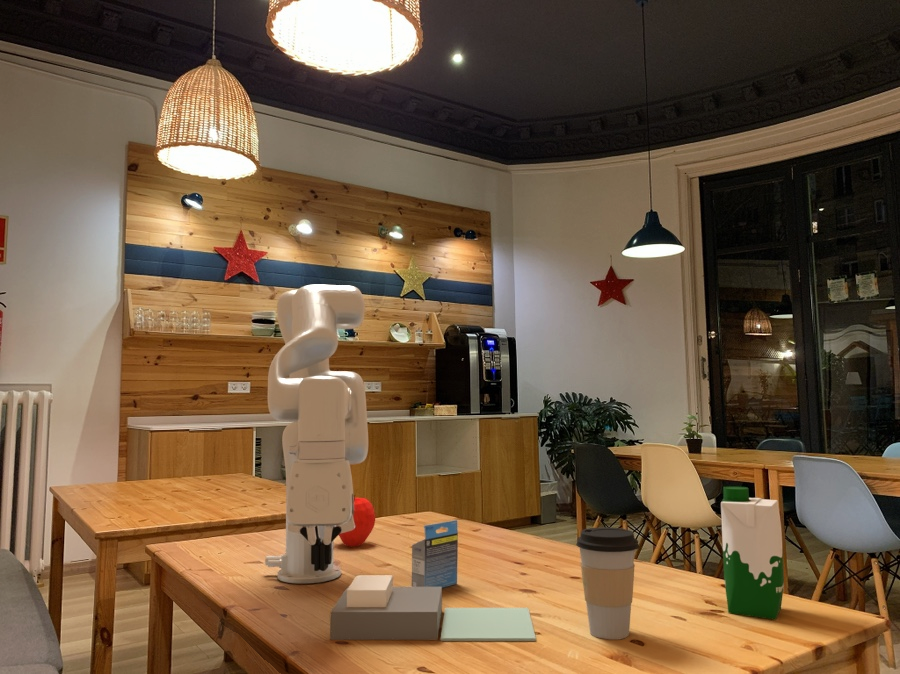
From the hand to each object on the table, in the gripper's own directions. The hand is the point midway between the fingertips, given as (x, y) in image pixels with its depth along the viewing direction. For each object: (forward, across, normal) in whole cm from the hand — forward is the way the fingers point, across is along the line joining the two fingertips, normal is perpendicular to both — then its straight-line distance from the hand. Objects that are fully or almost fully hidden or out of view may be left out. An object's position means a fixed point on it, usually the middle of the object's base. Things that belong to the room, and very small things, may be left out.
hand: (321, 568), depth 111 cm
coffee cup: (+10, +45, -3) cm, 46 cm away
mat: (+9, +26, +1) cm, 28 cm away
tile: (+5, +8, +1) cm, 9 cm away
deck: (+9, +11, +1) cm, 14 cm away
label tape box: (+9, +17, +23) cm, 30 cm away
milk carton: (+9, +71, +8) cm, 72 cm away
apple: (+7, -5, +61) cm, 62 cm away
